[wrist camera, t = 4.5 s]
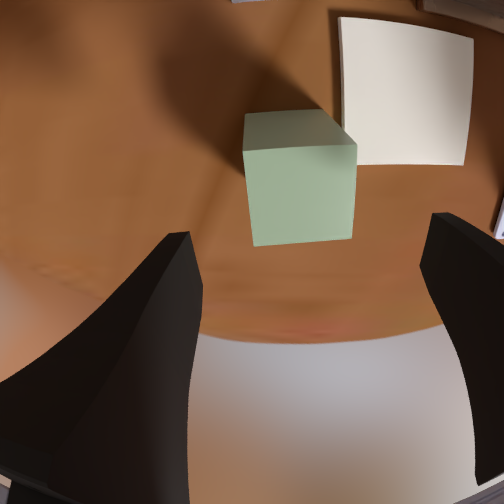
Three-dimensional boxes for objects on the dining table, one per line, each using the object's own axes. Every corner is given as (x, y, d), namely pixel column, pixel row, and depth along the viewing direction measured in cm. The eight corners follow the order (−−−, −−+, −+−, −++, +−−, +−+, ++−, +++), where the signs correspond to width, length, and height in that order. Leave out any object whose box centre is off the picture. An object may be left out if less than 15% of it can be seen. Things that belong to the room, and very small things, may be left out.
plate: (467, 38, 12) (473, 38, 11) (458, 161, 16) (463, 165, 16) (337, 17, 12) (340, 17, 12) (341, 161, 17) (343, 165, 16)
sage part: (322, 108, 15) (357, 144, 10) (323, 177, 18) (351, 238, 13) (244, 113, 15) (242, 151, 11) (252, 182, 18) (253, 246, 13)
